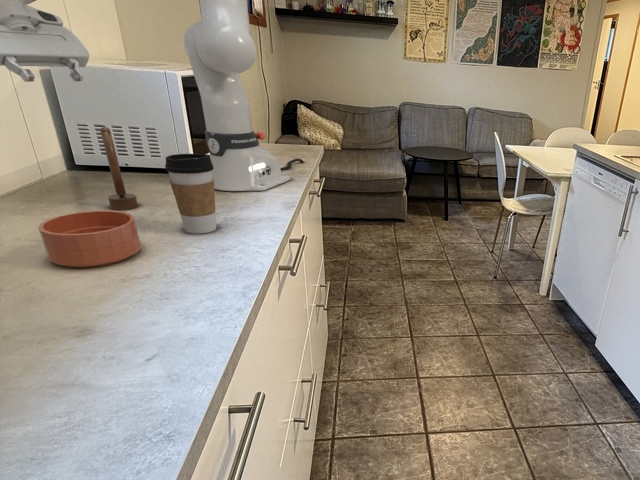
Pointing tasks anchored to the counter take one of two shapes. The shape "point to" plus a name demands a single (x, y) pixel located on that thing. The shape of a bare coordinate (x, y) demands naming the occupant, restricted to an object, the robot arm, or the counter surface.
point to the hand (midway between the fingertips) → (55, 79)
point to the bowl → (90, 238)
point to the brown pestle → (116, 176)
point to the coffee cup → (193, 190)
